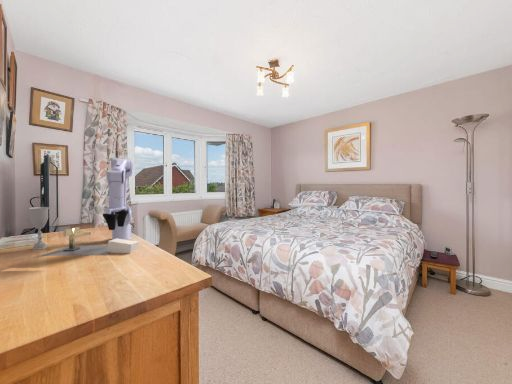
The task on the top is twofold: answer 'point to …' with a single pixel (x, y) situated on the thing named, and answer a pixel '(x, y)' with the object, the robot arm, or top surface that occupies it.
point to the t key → (71, 232)
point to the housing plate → (81, 250)
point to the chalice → (39, 223)
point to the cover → (122, 246)
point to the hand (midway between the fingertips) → (116, 228)
